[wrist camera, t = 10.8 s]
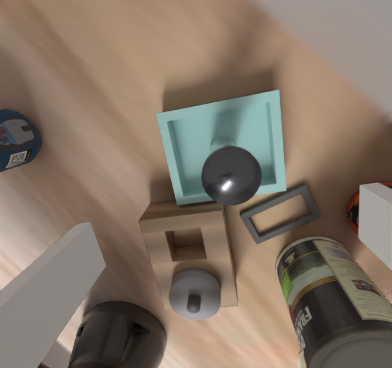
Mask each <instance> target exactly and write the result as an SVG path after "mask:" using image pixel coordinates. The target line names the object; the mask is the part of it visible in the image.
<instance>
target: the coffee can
mask: <svg viewBox="0 0 392 368" xmlns="http://www.w3.org/2000/svg"><path fill="white" fill-rule="evenodd" d="M276 275H277V277H278V279H279V282H280V285H281V288H282V291H283V294H284V297H285V300H286V304H287V307H288V310H289V313H290V316H291V319H292V322H293V326H294V328H295V332H296V335H297V338H298V341H299V344H300V347H301V351H302V354H303V357H304V360H305V363H306V368H392V304H391V303H390V302H389V301H388V300H387V298H386V297H385V296H384V295H383V294H382V293H381V291H380V290H379V289H378V288H377V287H376V285H375V284H374V283H373V282H372V280H371V279H370V278H369V277H368V276H367V274H366V273H365V272H364V271H363V270H362V268H361V267H360V266H359V265H358V263H357V262H356V261H355V260H354V259H353V257H352V256H351V255H350V254H349V252H348V251H347V249H346V248H345V247H344V246H343V245H342V244H341V243H339V242H337V241H335V240H333V239H330V238H327V237H321V236H310V237H306V238H302V239H299V240H296V241H294V242H293V243H291V244H290V245H288V246H287V247H286V248H285V249H284V250H283V251H282V252H281V254H280V255H279V257H278V259H277V262H276Z"/></svg>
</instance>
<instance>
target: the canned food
mask: <svg viewBox="0 0 392 368" xmlns="http://www.w3.org/2000/svg"><path fill="white" fill-rule="evenodd" d="M379 183H380V184H382V185H384V186H386V187H388V188H390V189H392V183H389V182H379ZM359 194H360V190H359V191H358V192H357V193H356V194H355V195H354V196H353V198H352V199H351V201H350V203H349V205H348V209H347V217H348V221H349V223H350V226H351V227H352V229H353V230H354V231H355V233H356V234H357V235H358V231H359Z"/></svg>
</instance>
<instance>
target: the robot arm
mask: <svg viewBox="0 0 392 368" xmlns="http://www.w3.org/2000/svg"><path fill="white" fill-rule="evenodd" d="M358 239H360V240H361V241H362V242H363V243H364V244H365V245H366V246H367V247H368V248H369V249H370V250H371V251H372V252H373V253H374V254H375V255H376V256H377V257H378V258H379V259H380V260H381V261H382V262H383V263H384V264H385V265H386V266H387V267H388V268H390V269H391V270H392V189H390V188H388V187H386V186H384V185H382V184H380V183H371V184H364V185H360V194H359V231H358ZM105 267H106V264H105V261H104V258H103V256H102V253H101V250H100V247H99V245H98V242H97V239H96V236H95V234H94V231H93V228H92V225H91V222H88V223H80V224H76V225H75V226H74V227H73V228H72V229H71V230H70V231H68V232H67V233H66V234H65V235H64V236H63V237H61V238H60V239H59V240H58V241H57V242H56V243H55V244H53V245H52V246H51V247H50V248H49V249H48V250H47V251H45V252H44V253H43V254H42V255H41V256H40V257H39V258H37V259H36V260H35V261H34V262H33V263H32V264H31V265H29V266H28V267H27V268H26V269H25V270H24V271H22V272H21V273H20V274H19V275H18V276H17V277H16V278H14V279H13V280H12V281H11V282H10V283H9V284H8V285H6V286H5V287H4V288H3V289H2V290H1V291H0V368H52V367H50V366H49V365H48V364H46V363H45V362H43V361H42V360H43V358H44V357H45V355H46V354H47V352H48V351H49V349H50V348H51V346H52V345H53V344H54V342H55V341H56V339H57V338H58V336H59V335H60V333H61V332H62V330H63V329H64V327H65V326H66V324H67V323H68V321H69V320H70V318H71V317H72V316H73V314H74V313H75V311H76V310H77V308H78V307H79V305H80V304H81V302H82V301H83V299H84V298H85V296H86V295H87V293H88V292H89V290H90V289H91V287H92V286H93V285H94V283H95V282H96V280H97V279H98V277H99V276H100V274H101V273H102V271H103V270H104V268H105ZM165 347H166V334H165V331H164V329H163V327H162V325H161V324H160V322H159V321H158V320H157V319H156V318H155V317H154V316H153V315H152V314H150V313H149V312H147V311H146V310H144V309H142V308H140V307H138V306H135V305H132V304H128V303H123V302H108V303H103V304H100V305H98V306H96V307H94V308H92V309H91V310H90V311H89V312H88V313H87V315H86V316H85V318H84V319H83V321H82V323H81V324H80V326H79V328H78V331H77V334H76V339H75V342H74V346H73V350H72V354H71V358H70V362H69V366H68V368H158V367H159V365H160V363H161V361H162V359H163V356H164V351H165Z"/></svg>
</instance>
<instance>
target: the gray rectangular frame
mask: <svg viewBox="0 0 392 368" xmlns="http://www.w3.org/2000/svg"><path fill="white" fill-rule="evenodd" d="M301 193H302V195H303V197H304V199H305V201H306V203H307V205H308V207H309V209H310V211H311V213H309V214H307V215H304V216H302V217H300V218H298V219H295V220H293V221H291V222H288V223H286V224H284V225H281V226H279V227H277V228H274V229H272V230H270V231H267V232H265V233H263V234H261V235H259V234H258V233H257V231H256V229H255V227H254V226H253V224H252V222H251V221H250V219H249V217H251V216H253V215H255V214H258V213H260V212H262V211H264V210H266V209H269V208H271V207H273V206H275V205H277V204H280V203H282V202H284V201H286V200H288V199H290V198H293V197H295V196H297V195H299V194H301ZM240 216H241V218H242V220H243V222H244V223H245V225H246V227H247V228H248V230H249V232H250V234H251V235H252V237H253V239H254V240H255V242H256V244H259V243H261V242H264V241H266V240H268V239H271V238H273V237H275V236H278V235H280V234H282V233H285V232H287V231H290V230H292V229H294V228H297V227H299V226H301V225H304V224H306V223H308V222H311V221H313V220H316V219H318V218H320V217H321V215H320V213H319V211H318V209H317V207H316V205H315V203H314V201H313V199H312V197H311V195H310V193H309V191H308V188H307V186H306V185H305V184H302V185H300V186H297V187H295V188H293V189H291V190H289V191H287V192H285V193H283V194H280V195H278V196H276V197H274V198H272V199H270V200H268V201H265V202H263V203H261V204H259V205H257V206H255V207H253V208H250V209H248V210H246V211H244V212H242V213H240Z"/></svg>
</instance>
